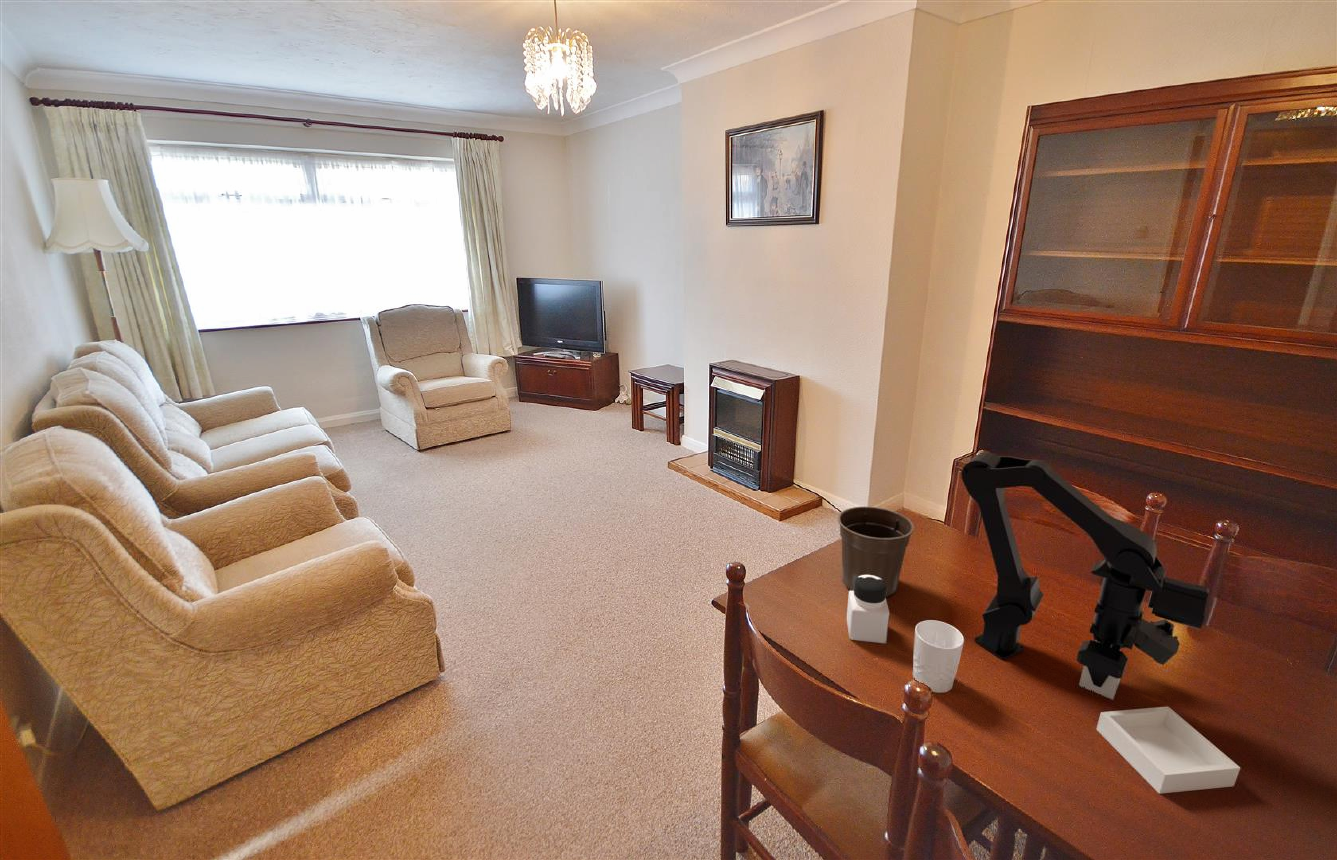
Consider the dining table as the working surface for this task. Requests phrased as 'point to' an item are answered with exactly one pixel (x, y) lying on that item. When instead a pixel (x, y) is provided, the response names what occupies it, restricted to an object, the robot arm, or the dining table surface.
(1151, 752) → the tray
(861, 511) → the plant pot
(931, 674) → the white cup
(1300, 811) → the dining table surface
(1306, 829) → the dining table surface
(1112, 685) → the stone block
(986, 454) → the robot arm
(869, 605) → the medicine bottle
